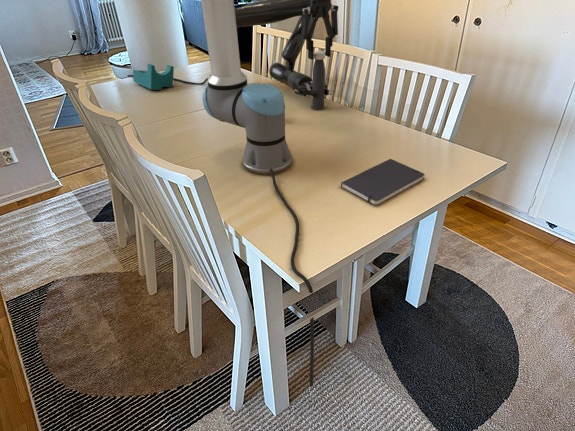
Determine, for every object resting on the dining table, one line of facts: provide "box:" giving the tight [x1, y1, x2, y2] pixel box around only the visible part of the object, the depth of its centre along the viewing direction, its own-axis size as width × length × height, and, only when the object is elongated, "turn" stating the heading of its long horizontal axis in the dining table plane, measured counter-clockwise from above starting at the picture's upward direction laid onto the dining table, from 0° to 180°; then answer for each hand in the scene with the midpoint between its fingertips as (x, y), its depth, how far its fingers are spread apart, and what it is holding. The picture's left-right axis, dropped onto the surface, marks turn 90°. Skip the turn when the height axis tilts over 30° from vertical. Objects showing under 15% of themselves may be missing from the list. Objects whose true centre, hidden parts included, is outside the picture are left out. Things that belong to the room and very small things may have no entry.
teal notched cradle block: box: [132, 63, 175, 91], centre depth 189 cm, size 18×11×10 cm, turn 43°
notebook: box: [340, 158, 425, 206], centre depth 114 cm, size 13×2×21 cm
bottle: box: [311, 59, 326, 111], centre depth 157 cm, size 5×5×21 cm
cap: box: [313, 50, 326, 60], centre depth 151 cm, size 4×4×2 cm
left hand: (322, 94), depth 158 cm, fingers closed on bottle, 4 cm apart
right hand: (319, 57), depth 152 cm, fingers open, 7 cm apart
